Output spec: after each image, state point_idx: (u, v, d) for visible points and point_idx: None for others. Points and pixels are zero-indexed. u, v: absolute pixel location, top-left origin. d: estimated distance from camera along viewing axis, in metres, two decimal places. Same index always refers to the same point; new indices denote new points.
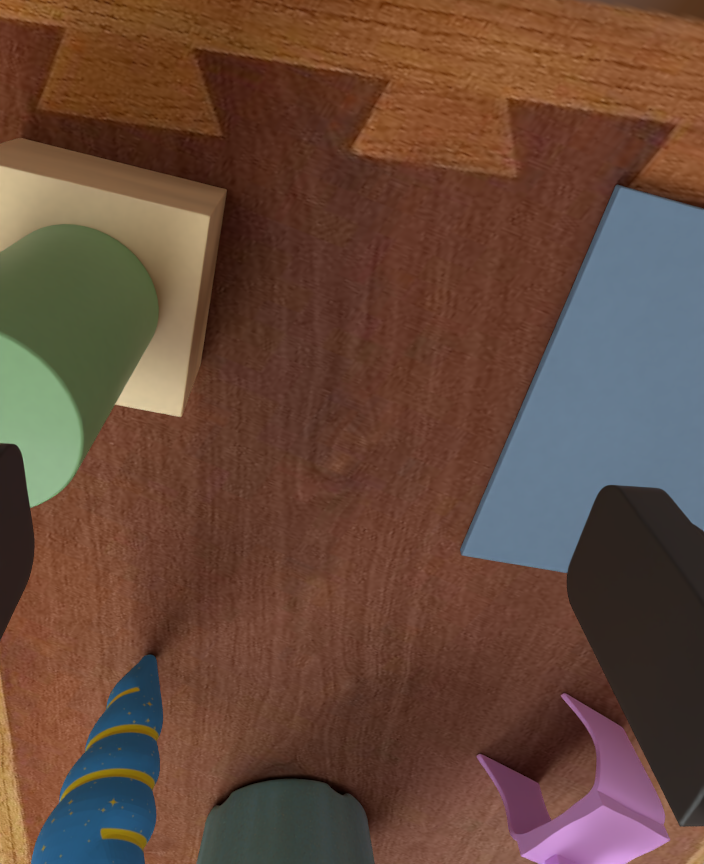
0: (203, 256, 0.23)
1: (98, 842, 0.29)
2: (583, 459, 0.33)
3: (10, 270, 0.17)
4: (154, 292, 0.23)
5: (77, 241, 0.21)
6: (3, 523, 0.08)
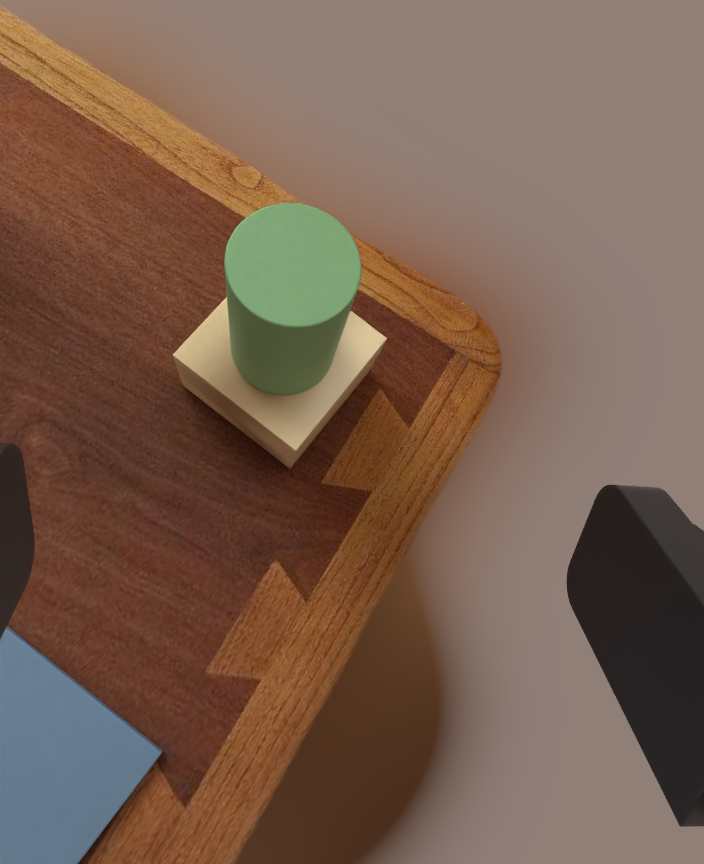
0: (274, 433, 0.33)
1: None
2: None
3: (341, 333, 0.29)
4: (268, 391, 0.33)
5: (323, 369, 0.32)
6: (3, 523, 0.08)
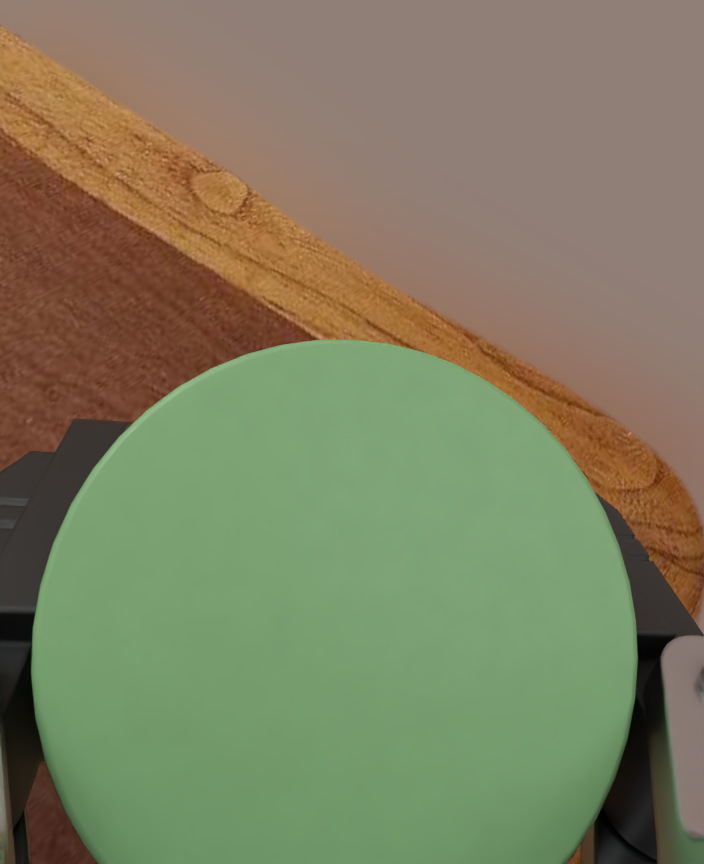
0: None
1: None
2: None
3: None
4: None
5: None
6: None
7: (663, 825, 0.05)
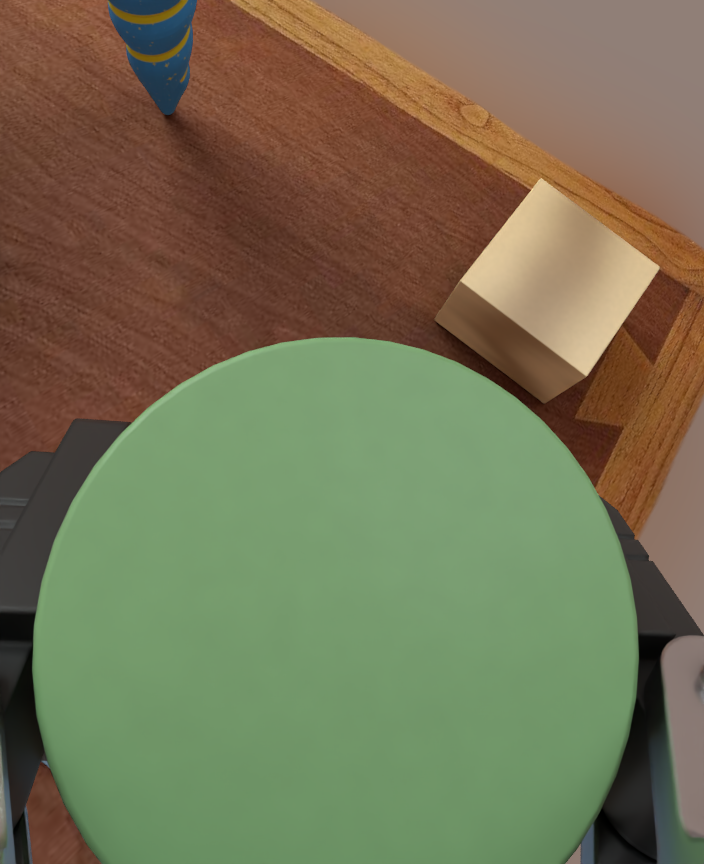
0: (564, 359, 0.33)
1: None
2: None
3: None
4: None
5: None
6: None
7: (662, 825, 0.05)
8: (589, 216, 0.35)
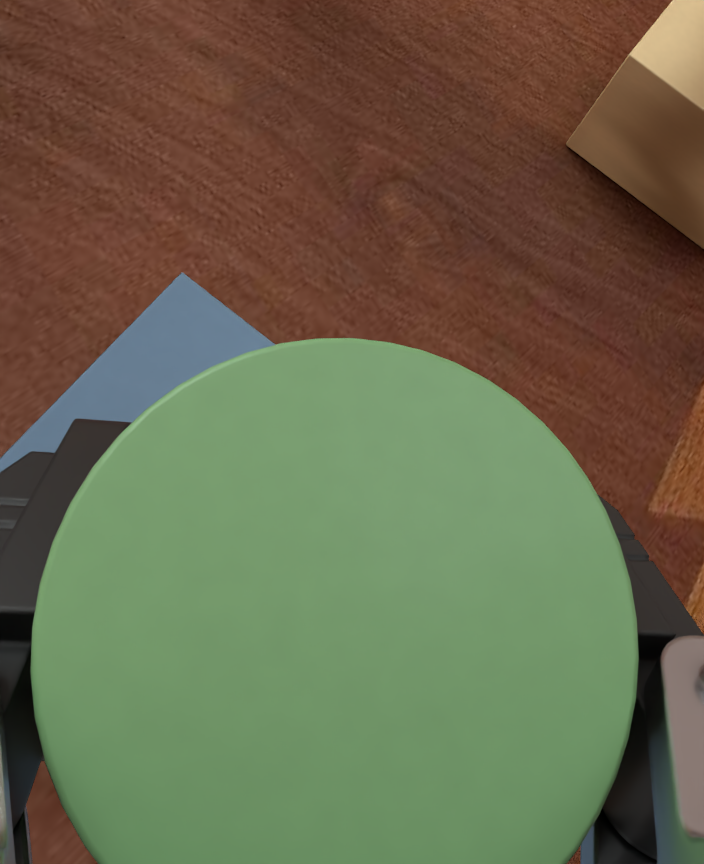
0: None
1: None
2: None
3: None
4: None
5: None
6: None
7: (663, 825, 0.05)
8: None
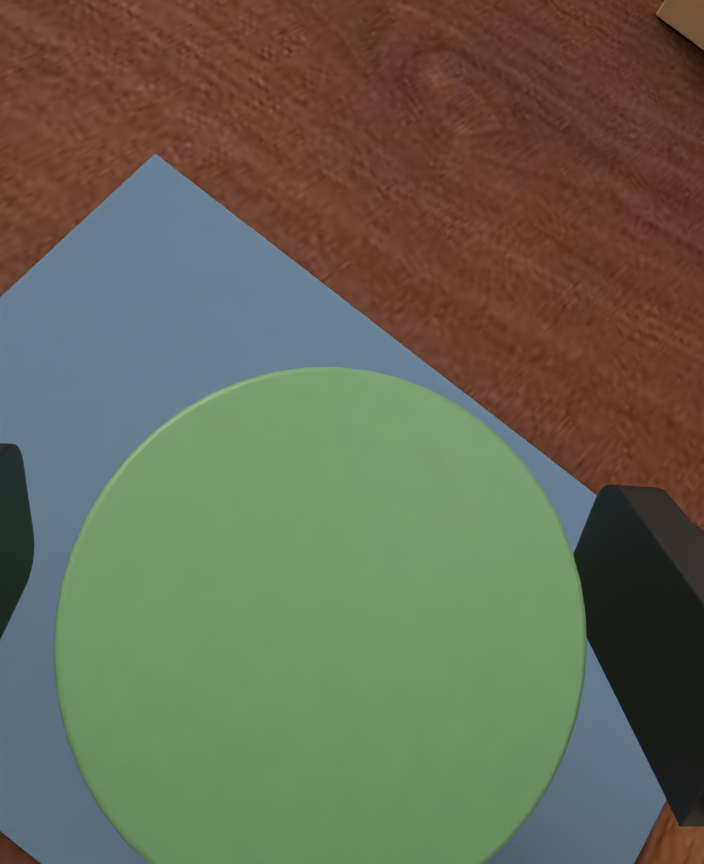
0: None
1: None
2: None
3: None
4: None
5: None
6: (3, 523, 0.08)
7: None
8: None
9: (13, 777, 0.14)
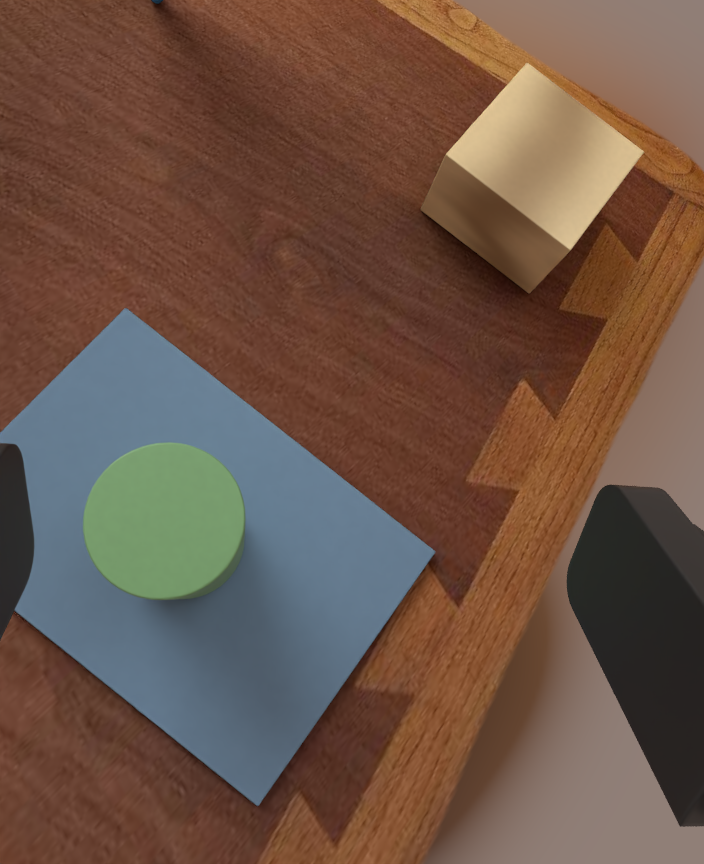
0: (548, 232, 0.33)
1: None
2: None
3: (234, 564, 0.26)
4: None
5: (226, 579, 0.29)
6: (3, 523, 0.08)
7: None
8: (574, 100, 0.35)
9: (55, 615, 0.29)
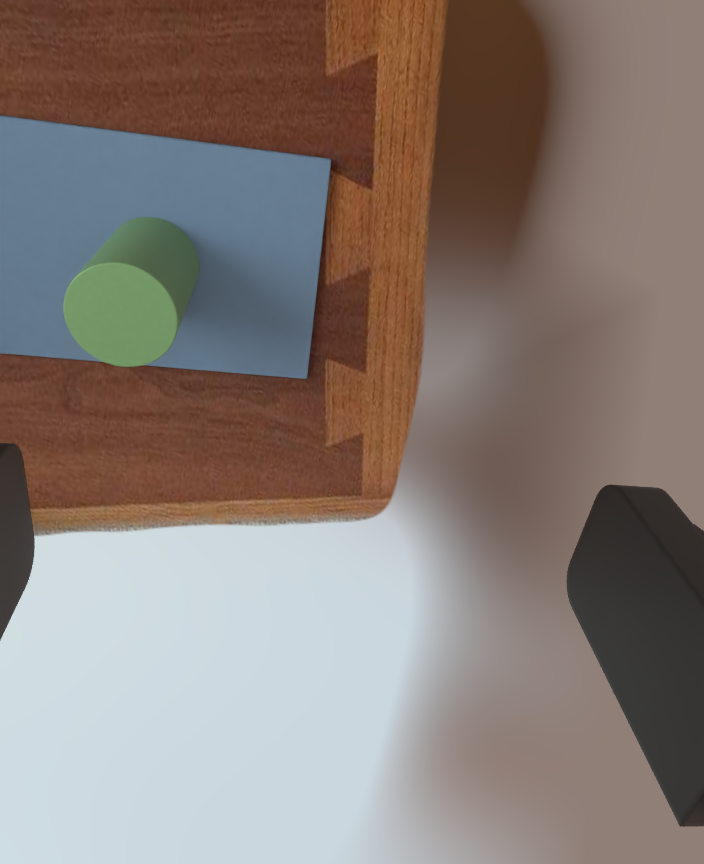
0: None
1: None
2: (105, 206, 0.38)
3: (187, 291, 0.35)
4: None
5: (195, 281, 0.38)
6: (3, 523, 0.08)
7: None
8: None
9: None
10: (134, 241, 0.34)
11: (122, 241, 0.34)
